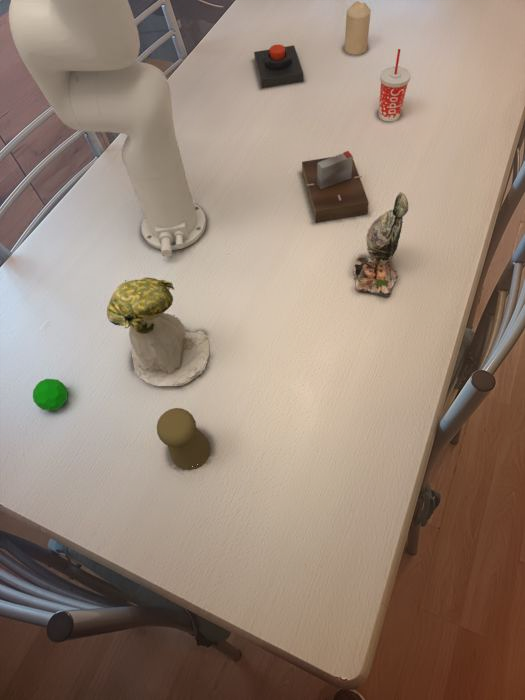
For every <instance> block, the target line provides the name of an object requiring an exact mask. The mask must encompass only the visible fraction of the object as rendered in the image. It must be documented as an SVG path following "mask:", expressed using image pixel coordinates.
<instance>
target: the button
mask: <svg viewBox="0 0 525 700" xmlns="http://www.w3.org/2000/svg"><path fill="white" fill-rule="evenodd" d="M285 47H286V46H284V44H273V45H272V46H270V47H269V49H270V58H271V59H275V60H278V59H282V58H284V57H285Z"/></svg>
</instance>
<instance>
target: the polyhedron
mask: <svg viewBox="0 0 525 700" xmlns="http://www.w3.org/2000/svg"><path fill="white" fill-rule="evenodd" d="M32 399H33V402H34V404H35V405H36V406H37V407H38V408H40V409H41V410H43V411H55V410H58V409H60V408H62V407H63V405H65V403H66V401H67V399H68V389H67V386H66V385H65V384H64V383H63V382H61V381H60V380H59V379H55V378H45V379H43V380H41V381H39V382H38V383H37V384H36V385H35V386H34V388H33V390H32Z"/></svg>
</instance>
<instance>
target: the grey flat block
mask: <svg viewBox="0 0 525 700" xmlns="http://www.w3.org/2000/svg"><path fill="white" fill-rule="evenodd" d="M331 157H332V158H329V159H326V160H323V161H321V162H318V163H317V185H318V186H319V187H320V189H324V188H327V187H329V186H332V185H335V184H337V183H340V182H343V181H345V180H348V179H350V178H351V175H352V164H353V160H354V156H353V154H352V153H351V152H350V151H349V150H346V151H344V152H343V153H340V154H338V155H335V156H331Z"/></svg>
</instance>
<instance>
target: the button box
mask: <svg viewBox="0 0 525 700" xmlns="http://www.w3.org/2000/svg"><path fill="white" fill-rule="evenodd" d="M284 47H285V57H284V58H282V59H278V60H275V59H271V58H270V48H269V49H264V50H257V51H253V55H254V63H255V67H256V71H257V77H258V80H259V84H260V88H261V89H268V88H274V87H275V88H276V87H280V86H286V85H292V84H293V85H294V84H299V83H304V71H303V67H302V65H301V62H300V59H299V56H298V52H297V50H296V47H295V45H288V46H284Z"/></svg>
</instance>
